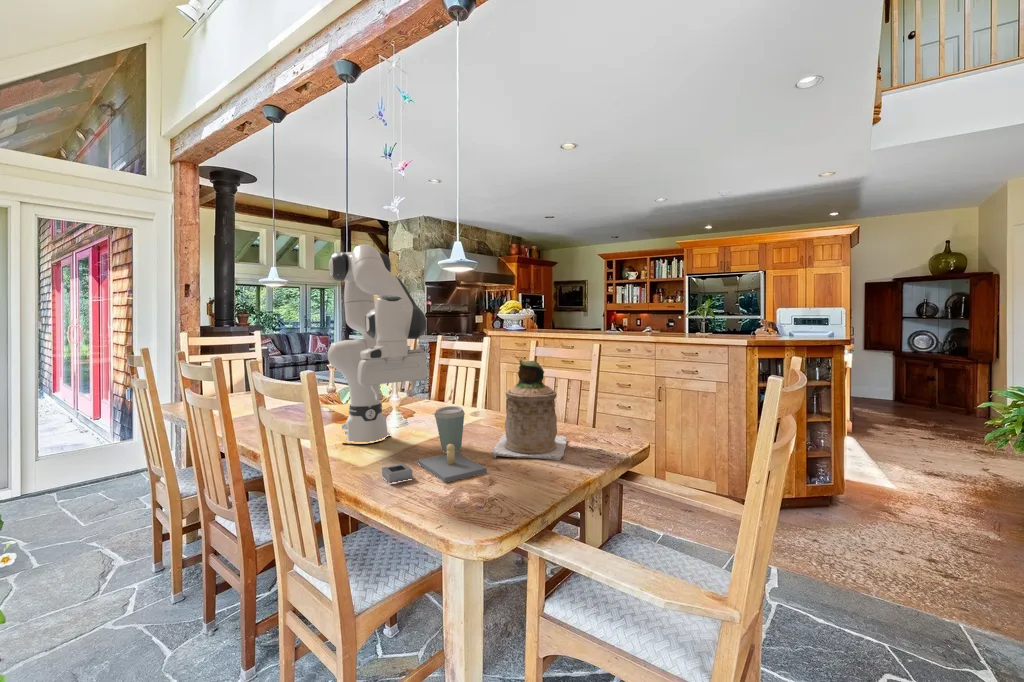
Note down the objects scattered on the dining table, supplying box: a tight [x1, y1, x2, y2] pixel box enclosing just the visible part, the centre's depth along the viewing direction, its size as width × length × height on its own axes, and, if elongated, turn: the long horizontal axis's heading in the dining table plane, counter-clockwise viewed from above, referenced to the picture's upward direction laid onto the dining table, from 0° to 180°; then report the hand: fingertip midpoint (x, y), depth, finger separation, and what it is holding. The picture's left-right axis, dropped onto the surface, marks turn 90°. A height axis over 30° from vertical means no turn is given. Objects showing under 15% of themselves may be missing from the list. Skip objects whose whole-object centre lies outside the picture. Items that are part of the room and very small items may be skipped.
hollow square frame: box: [381, 463, 414, 483], centre depth 137 cm, size 7×7×3 cm
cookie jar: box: [490, 359, 568, 461], centre depth 164 cm, size 25×25×32 cm
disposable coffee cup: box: [434, 405, 465, 453], centre depth 164 cm, size 11×11×15 cm
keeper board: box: [417, 444, 488, 483], centre depth 146 cm, size 20×14×8 cm
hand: (394, 397), depth 138 cm, fingers open, 8 cm apart
